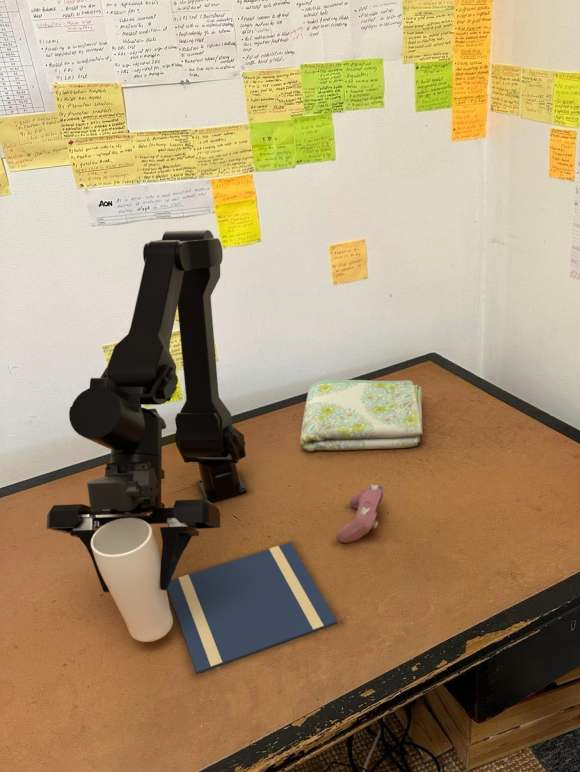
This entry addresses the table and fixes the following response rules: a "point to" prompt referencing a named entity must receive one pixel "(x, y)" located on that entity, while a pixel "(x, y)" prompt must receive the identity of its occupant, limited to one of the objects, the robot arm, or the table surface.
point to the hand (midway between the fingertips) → (134, 591)
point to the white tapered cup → (134, 576)
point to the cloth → (247, 606)
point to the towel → (362, 415)
